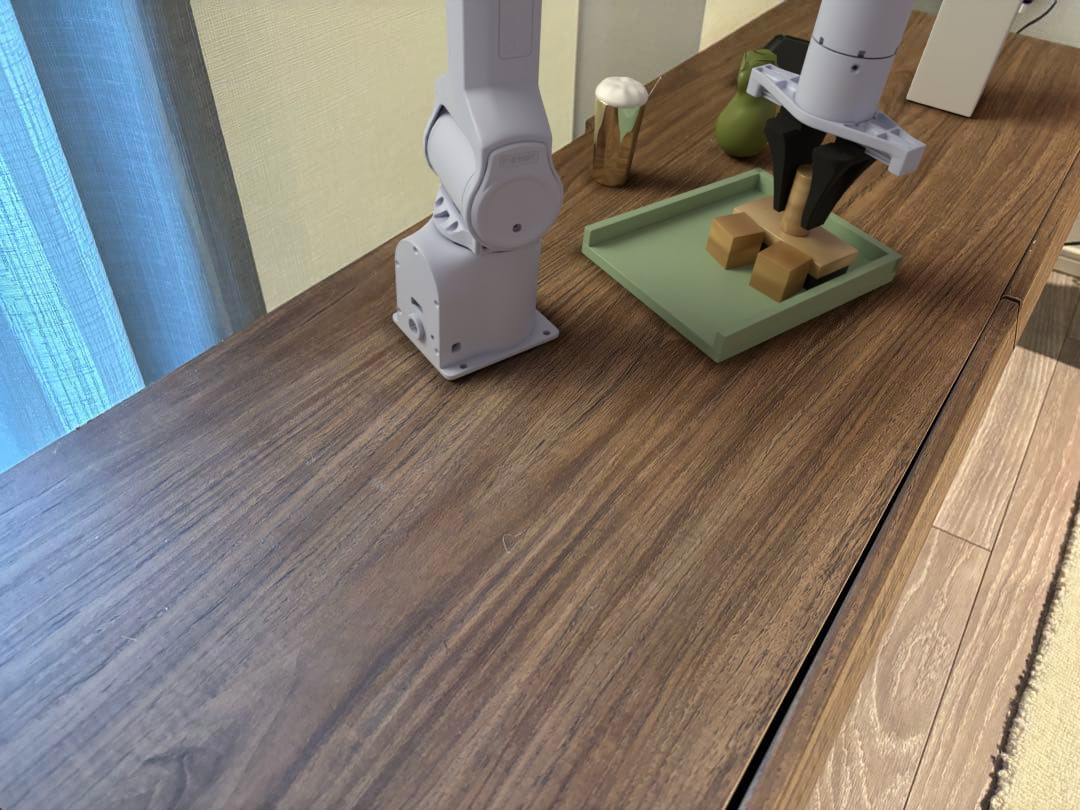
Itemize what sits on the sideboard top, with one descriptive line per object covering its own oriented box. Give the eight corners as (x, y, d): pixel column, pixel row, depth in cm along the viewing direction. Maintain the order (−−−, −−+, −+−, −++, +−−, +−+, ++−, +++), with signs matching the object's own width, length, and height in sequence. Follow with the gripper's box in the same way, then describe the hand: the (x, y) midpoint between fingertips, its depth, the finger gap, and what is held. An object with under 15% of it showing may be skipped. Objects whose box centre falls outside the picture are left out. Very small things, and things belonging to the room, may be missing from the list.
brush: (811, 295, 68) (842, 208, 62) (726, 235, 73) (748, 151, 68) (848, 278, 70) (881, 193, 64) (763, 222, 75) (787, 138, 70)
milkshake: (640, 195, 79) (658, 87, 72) (581, 185, 79) (594, 77, 72) (645, 171, 82) (664, 66, 75) (589, 162, 82) (602, 56, 75)
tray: (717, 363, 62) (725, 337, 61) (581, 252, 71) (584, 226, 70) (892, 281, 72) (903, 255, 70) (752, 191, 81) (759, 167, 79)
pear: (761, 171, 83) (790, 68, 76) (706, 160, 84) (729, 57, 77) (766, 146, 87) (794, 45, 80) (714, 135, 88) (737, 35, 81)
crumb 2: (779, 303, 67) (790, 271, 64) (748, 285, 68) (757, 252, 66) (802, 289, 68) (813, 257, 66) (771, 271, 70) (781, 239, 68)
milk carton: (969, 119, 96) (1053, -72, 82) (904, 100, 98) (976, -88, 85) (980, 96, 100) (1061, -88, 87) (918, 79, 102) (988, -103, 89)
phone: (840, 49, 104) (803, 92, 94) (837, 58, 105) (800, 102, 95) (777, 32, 107) (735, 72, 97) (775, 41, 107) (732, 82, 97)
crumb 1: (725, 270, 69) (733, 237, 67) (705, 249, 71) (712, 217, 69) (756, 263, 70) (765, 231, 68) (735, 243, 72) (744, 211, 70)
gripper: (981, 72, 57) (905, 247, 66) (813, -3, 65) (766, 163, 74) (914, 93, 54) (844, 275, 63) (746, 11, 62) (706, 183, 71)
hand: (798, 216), depth 69 cm, fingers closed on brush, 2 cm apart
